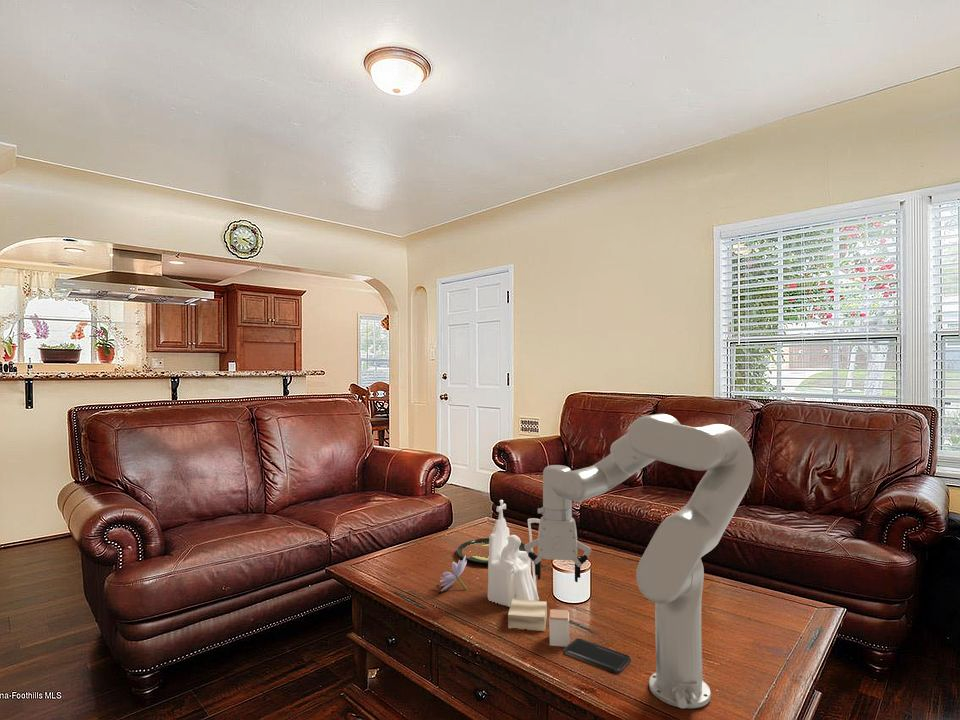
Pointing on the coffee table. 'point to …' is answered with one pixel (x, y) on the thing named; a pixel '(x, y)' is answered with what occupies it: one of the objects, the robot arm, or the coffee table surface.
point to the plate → (484, 540)
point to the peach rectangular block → (559, 627)
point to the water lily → (451, 577)
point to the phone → (597, 655)
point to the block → (527, 615)
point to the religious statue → (509, 565)
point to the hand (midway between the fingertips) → (557, 578)
